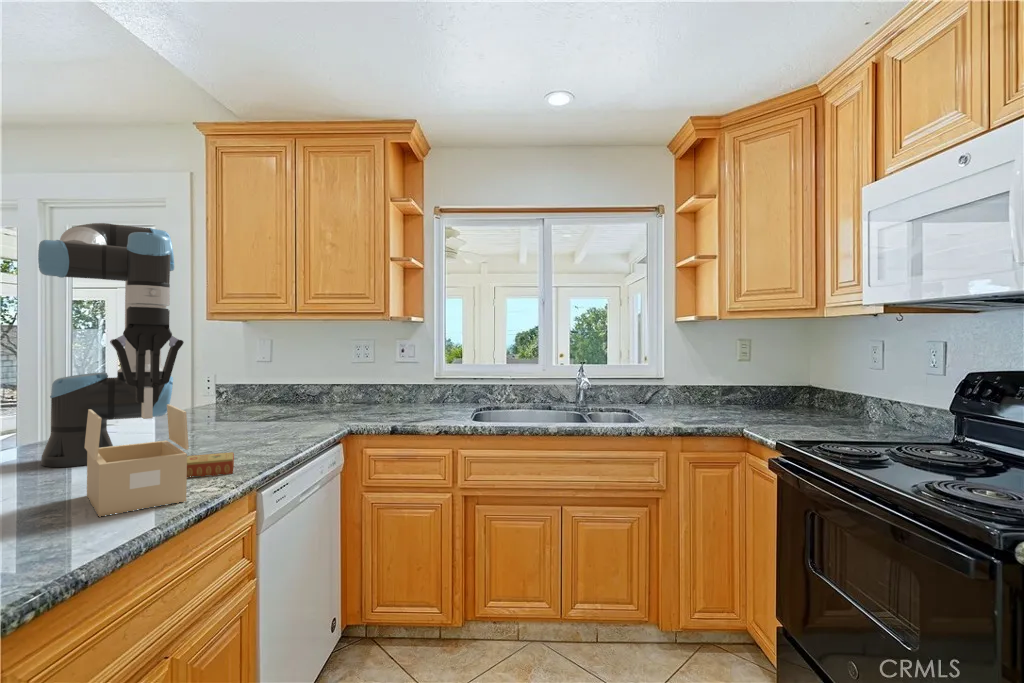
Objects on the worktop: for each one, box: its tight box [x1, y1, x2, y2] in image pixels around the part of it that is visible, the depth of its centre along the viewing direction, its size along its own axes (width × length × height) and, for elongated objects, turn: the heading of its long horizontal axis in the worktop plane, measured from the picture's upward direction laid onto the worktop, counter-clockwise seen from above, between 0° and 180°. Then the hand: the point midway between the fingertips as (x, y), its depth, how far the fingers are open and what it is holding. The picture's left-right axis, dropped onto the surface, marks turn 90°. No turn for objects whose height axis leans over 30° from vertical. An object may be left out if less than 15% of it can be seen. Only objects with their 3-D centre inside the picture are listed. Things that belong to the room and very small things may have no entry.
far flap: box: [166, 403, 190, 450], centre depth 115 cm, size 15×8×1 cm
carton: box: [187, 451, 235, 478], centre depth 132 cm, size 8×16×4 cm, turn 117°
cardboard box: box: [86, 440, 188, 518], centre depth 110 cm, size 18×14×10 cm
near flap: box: [84, 409, 102, 461], centre depth 105 cm, size 15×8×1 cm
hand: (146, 417), depth 112 cm, fingers closed
